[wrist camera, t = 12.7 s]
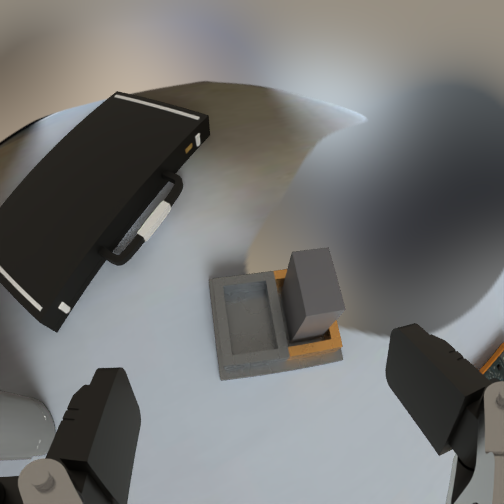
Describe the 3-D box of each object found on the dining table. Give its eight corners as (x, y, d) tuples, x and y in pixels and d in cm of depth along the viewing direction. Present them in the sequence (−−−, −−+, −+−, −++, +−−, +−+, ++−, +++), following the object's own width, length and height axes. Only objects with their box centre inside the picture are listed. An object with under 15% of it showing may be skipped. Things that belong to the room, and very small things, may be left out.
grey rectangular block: (319, 338, 41) (345, 309, 31) (290, 343, 41) (306, 316, 30) (308, 289, 44) (328, 247, 34) (280, 294, 44) (292, 251, 33)
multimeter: (437, 407, 37) (450, 405, 34) (501, 340, 41) (514, 335, 38) (459, 448, 33) (472, 448, 30) (520, 378, 38) (533, 373, 34)
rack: (341, 360, 40) (350, 355, 37) (221, 380, 39) (218, 377, 36) (319, 267, 47) (324, 255, 44) (209, 281, 45) (206, 270, 42)
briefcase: (-15, 260, 46) (80, 352, 40) (-31, 246, 41) (61, 342, 35) (121, 109, 65) (232, 144, 60) (115, 90, 60) (232, 121, 54)
